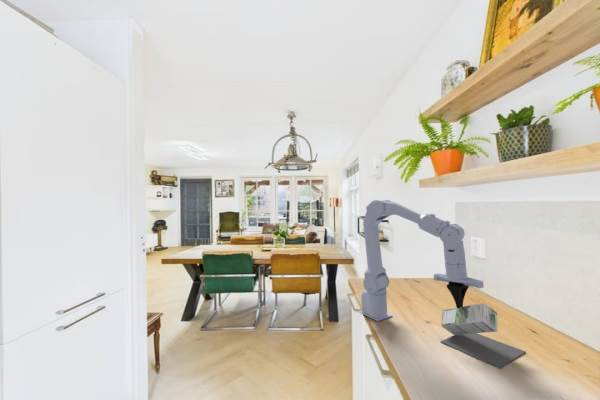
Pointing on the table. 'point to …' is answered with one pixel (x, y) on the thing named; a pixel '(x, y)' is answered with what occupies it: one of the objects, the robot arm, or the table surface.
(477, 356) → the rubber mat
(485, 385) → the table surface
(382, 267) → the robot arm
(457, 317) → the syrup box
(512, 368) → the table surface
